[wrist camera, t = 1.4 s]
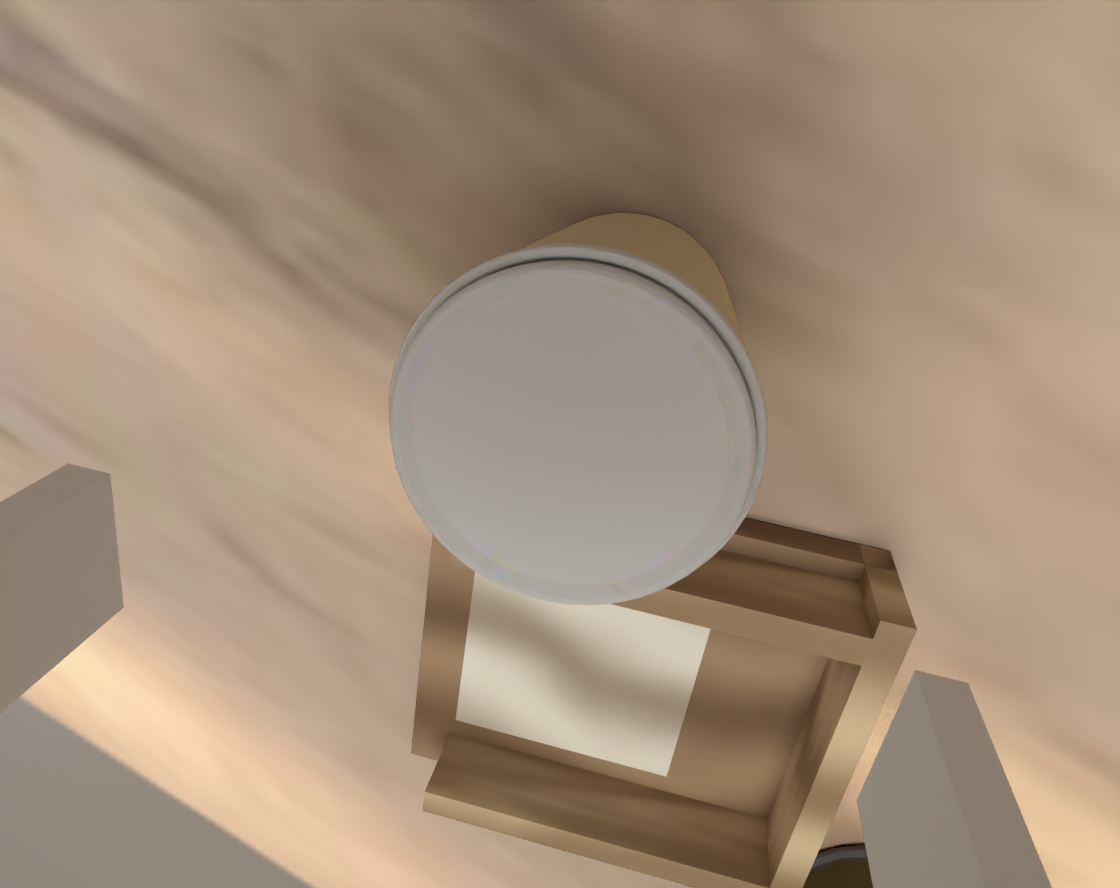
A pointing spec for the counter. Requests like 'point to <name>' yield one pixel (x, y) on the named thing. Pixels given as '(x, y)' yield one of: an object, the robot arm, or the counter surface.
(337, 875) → the counter surface
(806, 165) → the counter surface
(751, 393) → the coffee cup
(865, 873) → the canister
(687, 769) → the dock
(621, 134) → the counter surface
